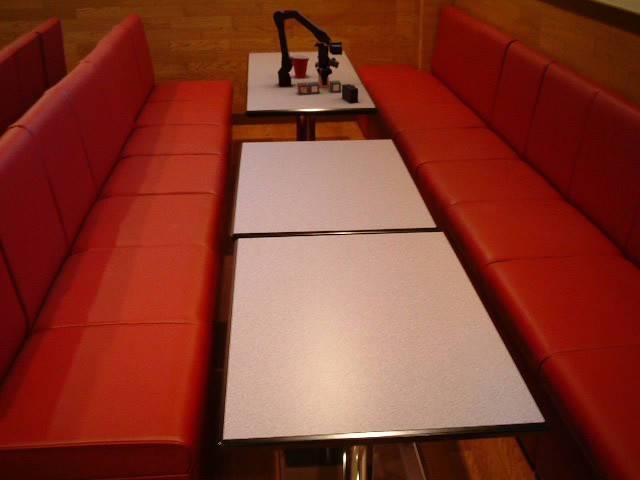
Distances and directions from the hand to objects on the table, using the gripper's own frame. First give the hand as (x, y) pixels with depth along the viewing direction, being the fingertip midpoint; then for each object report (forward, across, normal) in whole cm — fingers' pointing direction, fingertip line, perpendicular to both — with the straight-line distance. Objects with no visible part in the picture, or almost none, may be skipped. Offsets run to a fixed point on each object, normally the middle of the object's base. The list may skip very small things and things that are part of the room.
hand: (323, 83), depth 349 cm
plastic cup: (+1, +23, +9) cm, 25 cm away
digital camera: (+1, -32, -8) cm, 33 cm away
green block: (+1, -13, -4) cm, 14 cm away
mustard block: (+1, 0, 0) cm, 1 cm away
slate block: (+1, -13, +8) cm, 15 cm away
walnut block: (+1, -13, +14) cm, 19 cm away
